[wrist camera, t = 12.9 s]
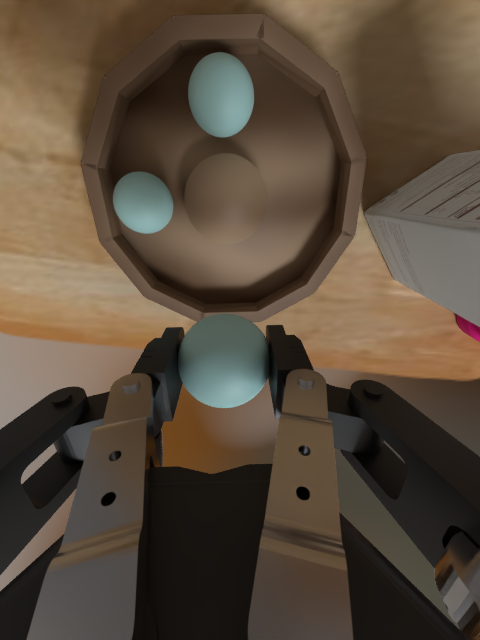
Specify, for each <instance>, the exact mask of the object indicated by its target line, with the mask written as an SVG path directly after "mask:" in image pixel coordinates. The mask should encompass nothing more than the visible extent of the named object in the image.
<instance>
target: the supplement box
mask: <svg viewBox="0 0 480 640" xmlns="http://www.w3.org/2000/svg"><path fill="white" fill-rule="evenodd" d="M364 215H365V217H366V219H367V222H368V224H369V226H370V228H371V231H372V233H373V235H374V237H375V239H376V242H377V244H378V246H379V248H380V250H381V252H382V255H383V257H384V259H385V261H386V263H387V265H388V268H389V270H390V272H391V274H392V276H393V279H394V280H396V281H398V282H400V283H402V284H403V285H405V286H407V287H409V288H410V289H412V290H414V291H416V292H418V293H420V294H421V295H423V296H425V297H427V298H429V299H430V300H432V301H434V302H436V303H437V304H439V305H441V306H443V307H445V308H446V309H448V310H450V311H452V312H454V313H455V314H457V315H459V316H461V317H463V318H464V319H466V320H468V321H470V322H472V323H473V324H475V325H477V326H479V327H480V150H476V151H469V152H463V153H457V154H452V155H449V156H448V157H446V158H445V159H443V160H442V161H440V162H439V163H437V164H436V165H434V166H433V167H431V168H429V169H428V170H426V171H425V172H423V173H422V174H420V175H419V176H417V177H416V178H414V179H413V180H411V181H410V182H408V183H407V184H405V185H403V186H402V187H400V188H399V189H397V190H396V191H394V192H393V193H391V194H390V195H388V196H387V197H385V198H384V199H382V200H381V201H379V202H378V203H376V204H375V205H373V206H371V207H370V208H368V209H367V210H366V211H364Z"/></svg>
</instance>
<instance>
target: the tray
mask: <svg viewBox="0 0 480 640" xmlns="http://www.w3.org/2000/svg"><path fill="white" fill-rule="evenodd" d="M173 16H174V19H173V17H172V16H171V17H170V18H169V19H168V20H167V21H166V22H165V23H163V24H162V25H161V26H160V27H159V28H158V29H157V30H155V31H154V32H153V33H152V34H151V35H150V36H149V37H148V38H146V39H145V40H144V41H143V42H142V43H141V44H140V45H139V46H137V47H136V48H135V49H134V50H133V51H132V52H131V53H129V54H128V55H127V56H126V57H125V58H124V59H123V60H122V61H120V62H119V63H118V64H117V65H116V66H115V67H114V68H112V69H111V70H110V71H109V72H108V73H107V74H106V75H105V76H104V77H105V78H106V79H105V78H103V80H102V84H101V88H100V91H99V95H98V99H97V103H96V107H95V111H94V114H93V118H92V122H91V126H90V130H89V134H88V137H87V141H86V145H85V149H84V153H83V156H82V160H81V163H83V164H81V167H82V171H83V175H84V179H85V183H86V188H87V192H88V196H89V200H90V204H91V208H92V213H93V217H94V221H95V225H96V229H97V234H98V238H99V242H100V243H101V245H102V246H103V247H104V248H105V249H106V251H107V252H108V253H109V254H110V256H111V257H112V258H113V259H114V261H115V262H116V263H117V264H118V265H119V267H120V268H121V269H122V270H123V272H124V273H125V274H126V275H127V276H128V278H129V279H130V280H131V281H132V283H133V284H134V285H135V286H136V288H137V289H138V290H139V291H140V292H141V294H142V295H143V296H145V298H147V299H150V300H152V301H154V302H156V303H158V304H160V305H162V306H165V307H167V308H169V309H171V310H173V311H175V312H177V313H179V314H182V315H184V316H186V317H188V318H190V319H192V320H194V321H197V322H199V321H200V320H202V319H204V318H206V317H208V316H211V315H215V314H222V313H227V314H235V315H238V316H241V317H244V318H246V319H248V320H249V321H251V322H260V321H261V322H262V321H263V320H265V319H267V318H269V317H271V316H273V315H275V314H276V313H278V312H280V311H282V310H284V309H286V308H287V307H289V306H291V305H293V304H295V303H297V302H299V301H300V300H302V299H304V298H306V297H308V296H310V295H312V294H313V293H314V292H316V290H317V289H318V288H319V286H320V285H321V283H322V282H323V280H324V279H325V278H326V276H327V275H328V273H329V272H330V271H331V269H332V268H333V266H334V265H335V263H336V262H337V261H338V259H339V258H340V256H341V255H342V254H343V252H344V251H345V249H346V248H347V246H348V245H349V244H350V242H351V241H352V239H353V238H354V236H355V231H356V225H357V218H358V212H359V206H360V200H361V193H362V187H363V181H364V174H365V168H366V162H367V158H366V157H367V155H366V152H365V149H364V146H363V143H362V140H361V137H360V135H359V132H358V129H357V126H356V123H355V120H354V117H353V114H352V111H351V108H350V105H349V102H348V99H347V96H346V93H345V90H344V88H343V85H342V82H341V79H340V76H339V73H338V74H337V72H338V71H336V70H335V69H334V68H333V67H331V66H330V65H329V64H328V63H326V62H325V61H324V60H322V59H321V58H320V57H319V56H317V55H316V54H315V53H314V52H312V51H311V50H310V49H309V48H307V47H306V46H305V45H304V44H302V43H301V42H300V41H299V40H297V39H296V38H295V37H294V36H292V35H291V34H290V33H289V32H287V31H286V30H285V29H284V28H282V27H281V26H280V25H278V24H277V23H276V22H275V21H273V20H272V19H271V18H270V17H268V16H267V15H265V17H264V14H221V15H173ZM216 52H224V53H228V54H230V55H232V56H234V57H236V58H237V59H238V60H240V61H241V62H242V64H243V65H244V66H245V67H246V69H247V71H248V73H249V75H250V77H251V80H252V83H253V88H254V105H253V110H252V113H251V116H250V118H249V120H248V122H247V124H246V125H245V126H244V127H243V129H242V130H240V131H239V132H238V133H236V134H235V135H232V136H229V137H215V136H213V135H210V134H208V133H207V132H206V131H204V130H203V129H202V128H201V127H200V126H199V125H198V123H197V122H196V120H195V119H194V117H193V114H192V112H191V109H190V105H189V99H188V87H189V81H190V77H191V74H192V72H193V70H194V68H195V67H196V65H197V64H198V63H199V61H200V60H202V59H203V58H204V57H205V56H207V55H209V54H212V53H216ZM139 171H140V172H147V173H150V174H152V175H154V176H156V177H158V178H159V179H160V180H162V181H163V182H164V184H165V185H166V186H167V187H168V189H169V191H170V193H171V195H172V199H173V214H172V217H171V220H170V221H169V223H168V224H167V225H166V226H165V227H164V228H163V229H162V230H160V231H158V232H155V233H150V234H144V233H139V232H136V231H134V230H132V229H130V228H128V227H127V226H126V225H125V224H124V223H123V222H122V221H121V220H120V219H119V217H118V216H117V214H116V211H115V209H114V205H113V192H114V189H115V186H116V184H117V183H118V181H119V180H120V179H121V178H122V177H124V176H125V175H127V174H129V173H132V172H139ZM313 291H314V292H313Z"/></svg>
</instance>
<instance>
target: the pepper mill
mask: <svg viewBox="0 0 480 640" xmlns="http://www.w3.org/2000/svg"><path fill="white" fill-rule="evenodd" d="M456 316H457V324H458V326H459V328H460V329H461V330H462V331H463V332H464V333H466V334H467V335H469V336H471V337H472V338H474V339H475V340H477V341H479V342H480V327H479V326H477V325H475V324H473V323H472V322H470V321H468V320H466V319H464V318H463V317H461V316H459V315H456Z"/></svg>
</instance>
